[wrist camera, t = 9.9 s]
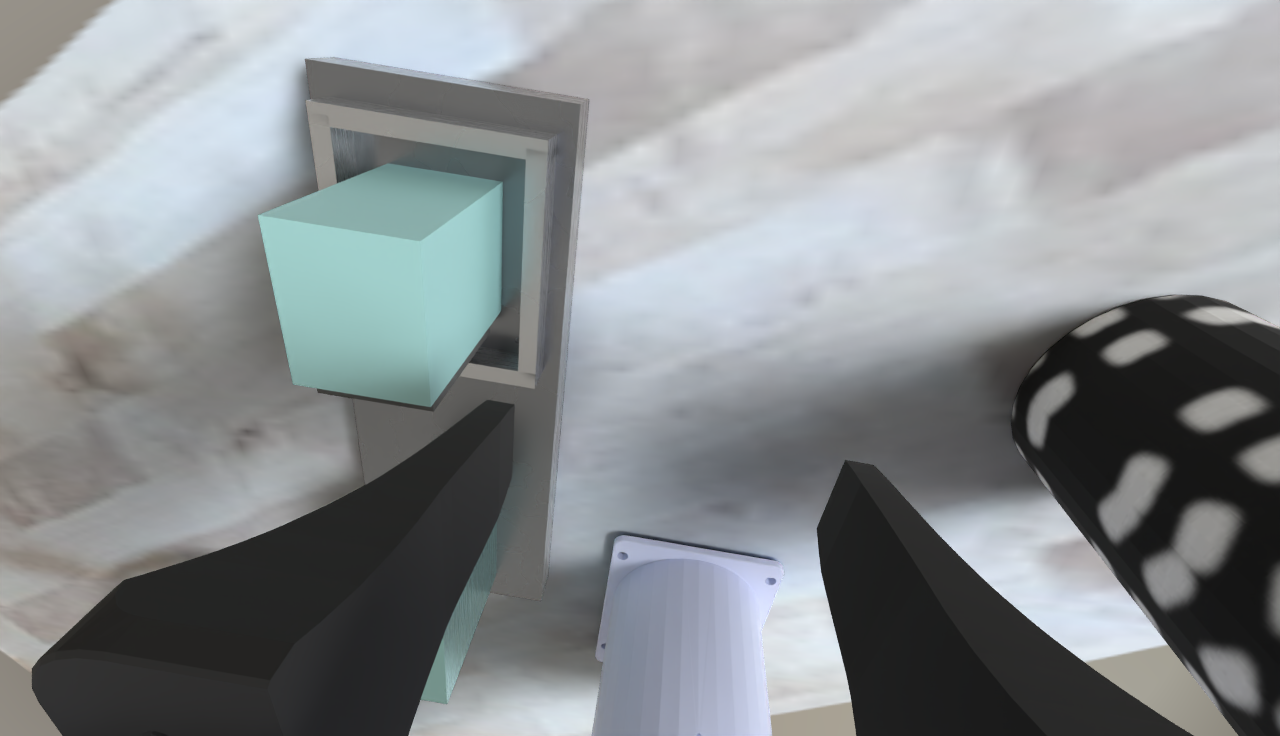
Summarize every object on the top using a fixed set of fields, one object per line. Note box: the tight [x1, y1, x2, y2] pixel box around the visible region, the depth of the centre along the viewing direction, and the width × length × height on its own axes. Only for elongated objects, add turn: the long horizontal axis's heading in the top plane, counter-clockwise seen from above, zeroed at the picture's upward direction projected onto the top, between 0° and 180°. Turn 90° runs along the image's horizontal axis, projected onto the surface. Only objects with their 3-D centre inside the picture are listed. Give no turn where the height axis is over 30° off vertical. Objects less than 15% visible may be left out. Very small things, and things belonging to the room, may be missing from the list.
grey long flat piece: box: [305, 57, 589, 704], centre depth 20 cm, size 22×8×8 cm, turn 172°
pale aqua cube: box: [258, 163, 503, 412], centre depth 16 cm, size 5×4×6 cm
